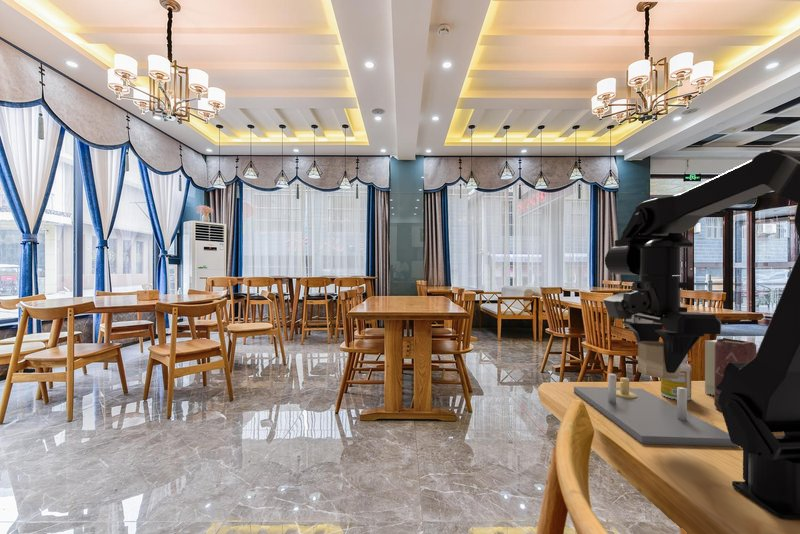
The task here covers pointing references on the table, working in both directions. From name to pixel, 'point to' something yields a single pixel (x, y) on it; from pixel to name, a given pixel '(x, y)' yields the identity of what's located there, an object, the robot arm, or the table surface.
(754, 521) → the table surface
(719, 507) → the table surface
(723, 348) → the can
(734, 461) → the table surface
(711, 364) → the skincare box
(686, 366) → the supplement bottle
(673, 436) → the slate board
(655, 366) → the napkin ring
